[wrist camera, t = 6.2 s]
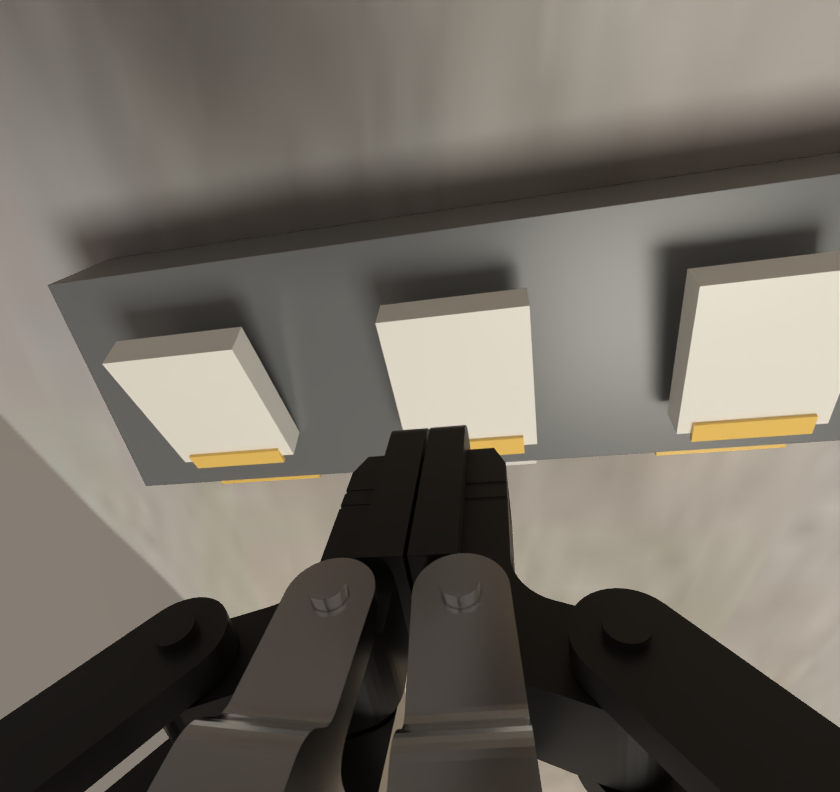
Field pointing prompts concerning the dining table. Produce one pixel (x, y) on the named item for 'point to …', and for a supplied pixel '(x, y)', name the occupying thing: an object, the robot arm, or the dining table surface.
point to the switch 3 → (758, 348)
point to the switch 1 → (206, 396)
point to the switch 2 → (464, 366)
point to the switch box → (456, 276)
